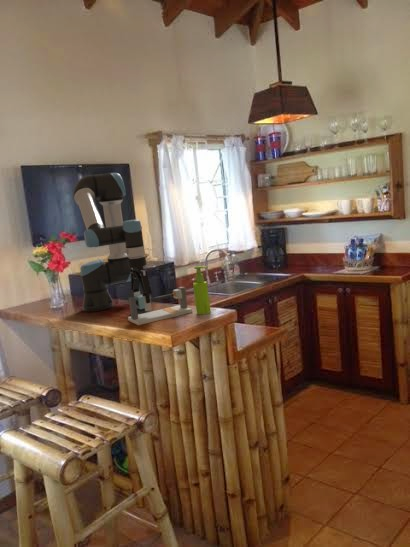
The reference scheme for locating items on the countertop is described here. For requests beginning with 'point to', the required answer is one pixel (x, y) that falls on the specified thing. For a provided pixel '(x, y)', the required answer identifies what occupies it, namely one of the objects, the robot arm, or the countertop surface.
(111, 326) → the countertop surface
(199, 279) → the soap dispenser
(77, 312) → the countertop surface
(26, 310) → the countertop surface
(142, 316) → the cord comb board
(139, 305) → the marker sleeve
